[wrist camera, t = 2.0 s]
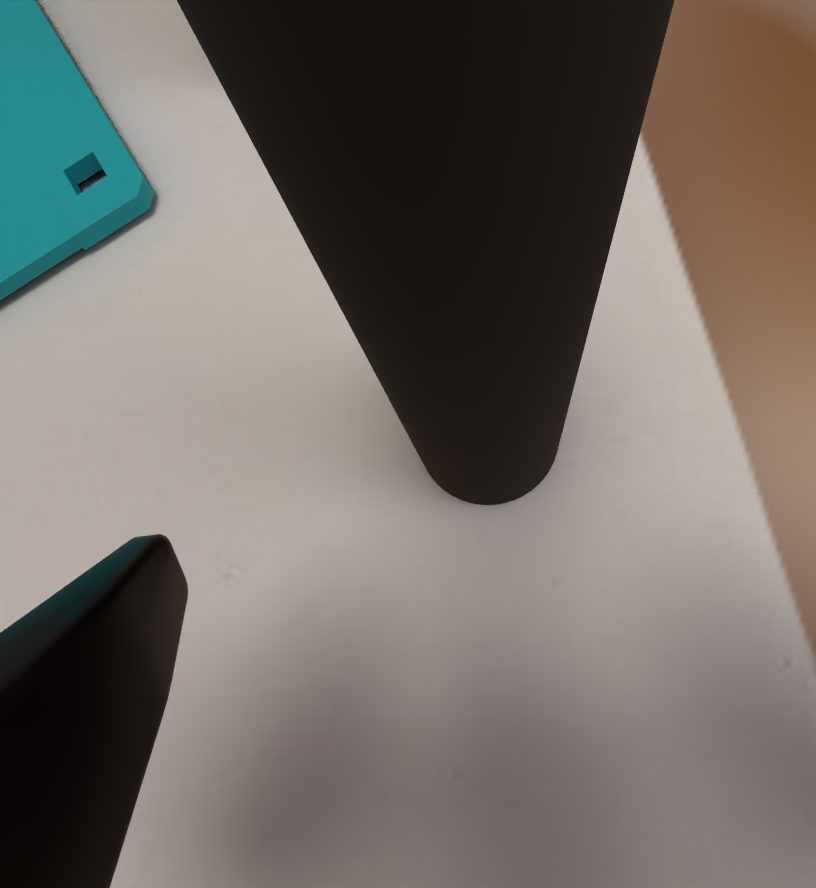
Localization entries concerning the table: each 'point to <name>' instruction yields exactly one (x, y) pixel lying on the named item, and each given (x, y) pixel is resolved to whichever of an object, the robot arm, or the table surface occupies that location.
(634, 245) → the table surface
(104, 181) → the floppy disk
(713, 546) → the table surface
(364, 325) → the post
